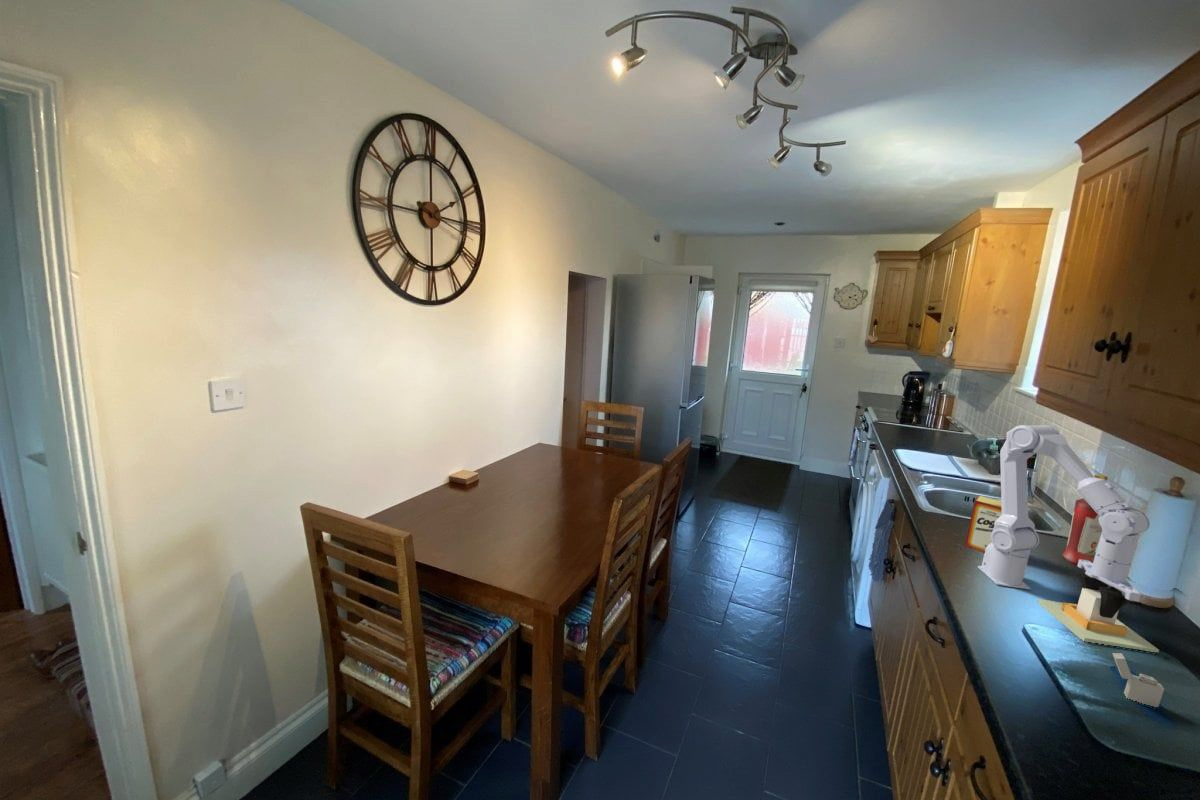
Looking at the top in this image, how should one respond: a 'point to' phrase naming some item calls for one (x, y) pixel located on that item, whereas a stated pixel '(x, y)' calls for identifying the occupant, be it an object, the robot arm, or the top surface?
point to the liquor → (1083, 532)
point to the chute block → (1092, 606)
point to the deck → (1095, 627)
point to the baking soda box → (982, 522)
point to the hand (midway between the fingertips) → (1097, 610)
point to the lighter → (1139, 684)
